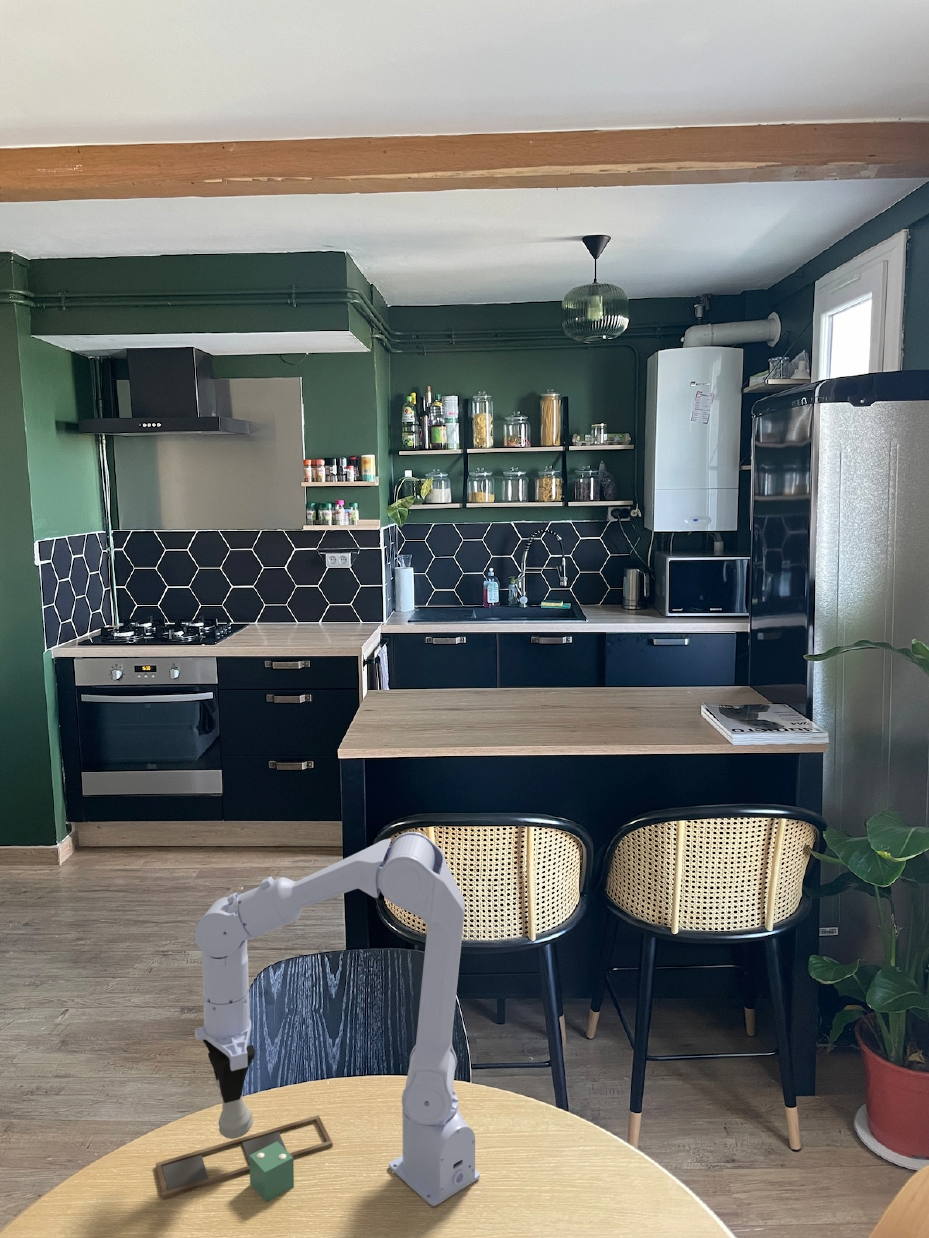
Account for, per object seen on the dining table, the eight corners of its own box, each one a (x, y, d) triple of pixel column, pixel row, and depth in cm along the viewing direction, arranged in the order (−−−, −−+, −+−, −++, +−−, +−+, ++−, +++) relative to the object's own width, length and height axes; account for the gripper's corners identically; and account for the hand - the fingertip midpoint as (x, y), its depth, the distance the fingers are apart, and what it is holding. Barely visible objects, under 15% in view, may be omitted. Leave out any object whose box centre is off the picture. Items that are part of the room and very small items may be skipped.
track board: (318, 1118, 129) (318, 1114, 129) (332, 1146, 124) (332, 1142, 123) (155, 1166, 120) (155, 1162, 120) (163, 1199, 114) (162, 1195, 114)
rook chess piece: (258, 1116, 123) (250, 1062, 121) (246, 1140, 118) (237, 1085, 117) (227, 1115, 123) (218, 1062, 122) (213, 1140, 119) (204, 1085, 117)
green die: (293, 1186, 116) (293, 1156, 116) (265, 1201, 114) (265, 1171, 113) (278, 1169, 119) (277, 1140, 119) (250, 1184, 116) (249, 1154, 116)
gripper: (185, 973, 123) (188, 1068, 124) (204, 1028, 110) (208, 1133, 111) (237, 962, 126) (240, 1055, 127) (263, 1014, 113) (265, 1117, 114)
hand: (228, 1091), depth 120 cm, fingers closed on rook chess piece, 3 cm apart
